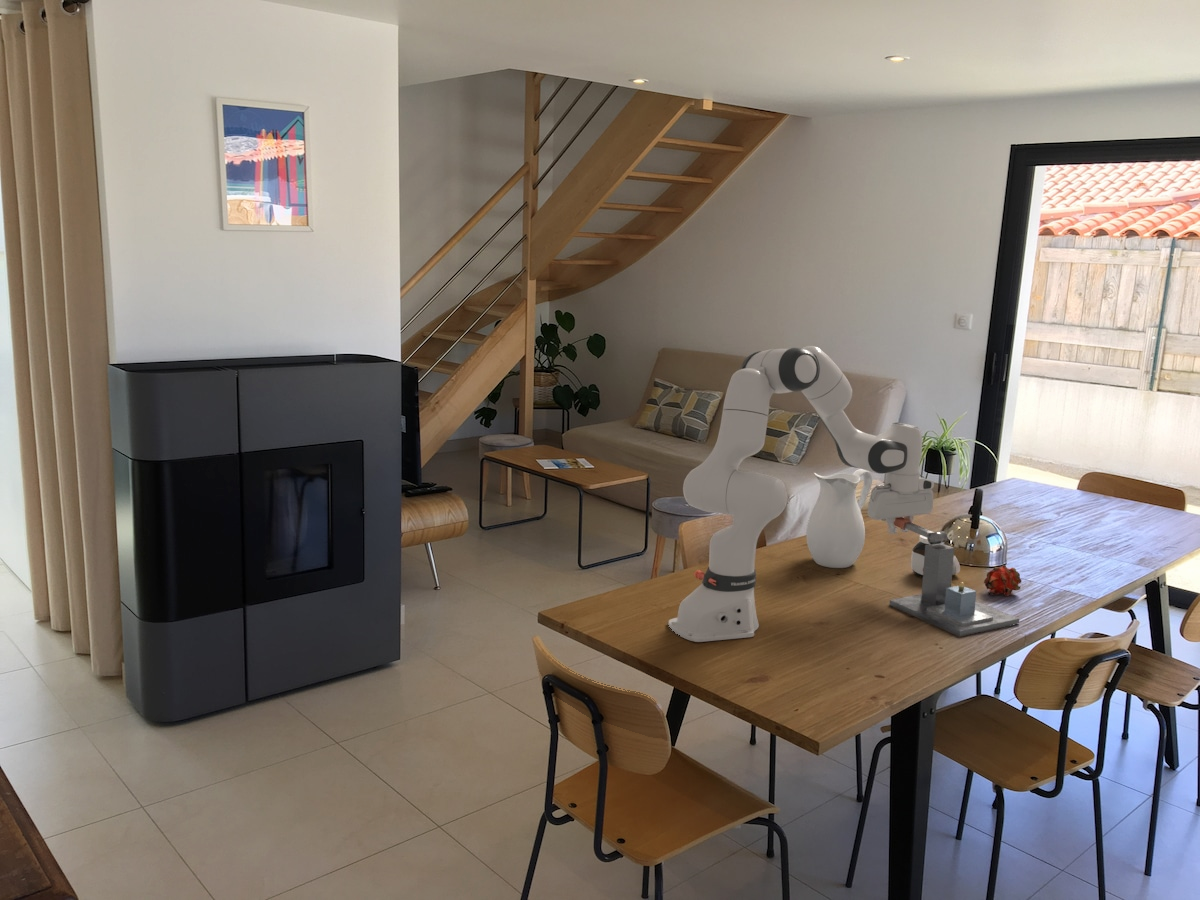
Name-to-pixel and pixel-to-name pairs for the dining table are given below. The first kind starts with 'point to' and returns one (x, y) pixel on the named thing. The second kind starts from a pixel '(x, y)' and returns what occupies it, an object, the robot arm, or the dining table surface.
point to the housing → (960, 600)
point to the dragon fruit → (1002, 580)
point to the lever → (921, 531)
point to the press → (933, 598)
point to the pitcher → (838, 520)
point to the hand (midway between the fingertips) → (898, 532)
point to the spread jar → (919, 555)
